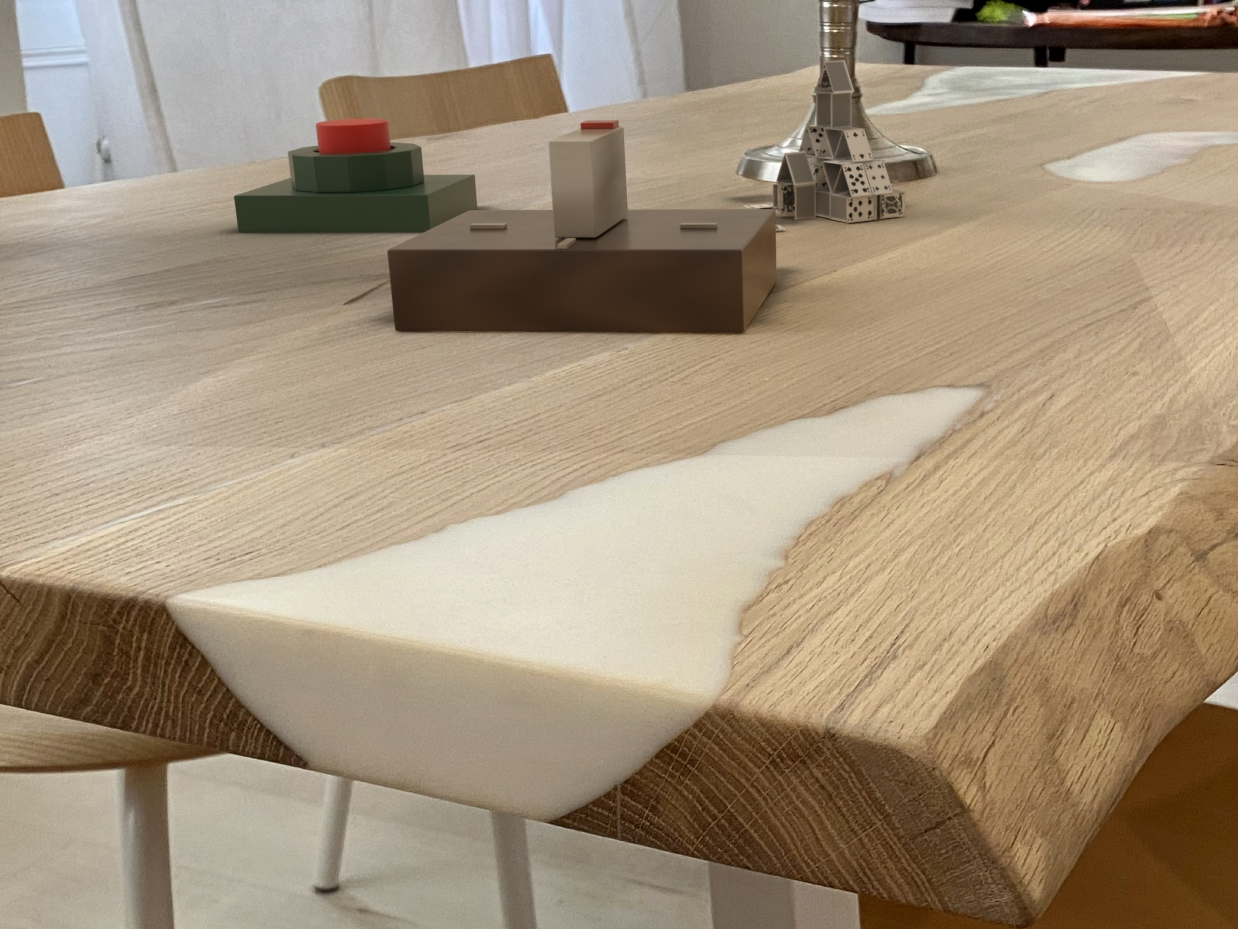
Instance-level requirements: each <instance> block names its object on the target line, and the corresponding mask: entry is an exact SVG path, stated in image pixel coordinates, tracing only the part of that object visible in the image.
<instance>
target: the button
mask: <svg viewBox="0 0 1238 929" xmlns="http://www.w3.org/2000/svg"><path fill="white" fill-rule="evenodd" d="M315 131H316V139H317V146H318V149H319V153H363V152H376V151H384V150H391V146H390V142H391V137H390V127H389V120H387V119H383V118H349V119H348V118H346V119H345V118H344V119H332V120H324V121H319V122H316V123H315Z"/></svg>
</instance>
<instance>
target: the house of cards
mask: <svg viewBox="0 0 1238 929" xmlns="http://www.w3.org/2000/svg"><path fill="white" fill-rule="evenodd" d="M849 73H850V72H849V71H848V67H847V64H846V60H845V59H838V60H824V61H823V63H822V67H821V70H820V74H819V76H818V80H817V83H816V87H815V90H814V92H815V124H810V125H809V124H807V125H806V126H805V130H804V134H803V137H802V139H801V143H800V146H799V148H798V151H790V152H784V154H783V156H782V160H781V164H780V167H779V170H778V173H777V177H776V182H777V183H772V203H761V204H745V205H742V207H744V208H745V209H767V208H772V209H774V210H775V209H779V217H788V216H789V217H790V216H794V220H795V221H796V220H802V219H803V220H805V219H813V218H816V217H821V218H827V219H829V220H834V221H839V222H843V223H845V224H850V223H851V224H852V223H860V222H867V221H878V220H880V221H881V220H882V219H888V218H889V219H890V218H898V217H899V218H900V217H905V216H906V190H901V189H895V188H893V186H892V183H891V180H890V176H889V174H888V170H887V167H886V164H885V160H884V159H882V160H881V159H876V158H874V156H873V153H872V150H871V146H870V143H869V140H868V137H867V134H866V131H865V130H866V128H861V127H852V93H854V92H855V90H854V86H853V83H852V80H851V77H850V74H849ZM786 230H787V229H786V228H785V227H783V226H781V225H780V224H776V232H777V231H786Z"/></svg>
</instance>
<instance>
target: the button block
mask: <svg viewBox="0 0 1238 929" xmlns="http://www.w3.org/2000/svg"><path fill="white" fill-rule="evenodd" d="M390 146H391V150H384V151H376V152H363V153H319V149H318V145H311V146H304V147H303V146H302V147H299V148H296V149H292V150H288V151H287V156H288V165H289V174H290V177H289V178H285V179H282V180H279V181H276V182H272V183H270V184H267V185H264V186H263V185H262V186H260V187H257V188H253V189H249V190H247V191H244V192H240V193H238V194H234V196H233V200H234V208H235V217H236V223H237V231H238V234H256V233H257V234H274V233H275V234H294V233H295V234H307V233H308V234H311V233H312V234H315V233H317V234H318V233H319V234H328V233H329V234H330V233H332V234H334V233H335V234H337V233H340V234H341V233H342V234H347V233H348V234H349V233H350V234H351V233H353V234H354V233H355V234H357V233H365V234H370V233H371V234H372V233H374V234H375V233H377V234H378V233H380V234H381V233H382V234H383V233H389V234H392V233H394V234H395V233H396V234H397V233H406V234H407V233H424V232H426V231H428V230H430V229H432V228H434V227H436V226H438V225H440V224H442V223H444V222H446V221H448V220H450V219H452V218H454V217H456V216H458V215H461V214H463V213H465V212H467V211H469V210H478V198H477V186H476V185H477V184H476V175H475V174H425V172H424V162H423V151H422V146H421V145H418V144H416V143H409V142H396V141H390Z"/></svg>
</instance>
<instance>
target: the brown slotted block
mask: <svg viewBox="0 0 1238 929" xmlns="http://www.w3.org/2000/svg"><path fill="white" fill-rule="evenodd" d="M776 220H777V219H776V210H775V208H774V209H773V208H750V209H749V208H720V209H719V208H716V209H715V208H711V209H709V208H708V209H707V208H706V209H705V208H704V209H702V208H700V209H699V208H698V209H690V208H687V209H686V208H685V209H681V208H680V209H673V208H672V209H670V208H669V209H668V208H667V209H628V216H627V217H625V218H624V219H622V220H621V221H619V222H618V223H616V224H615V225H614V226H612V227H611V228H609V229H608V230H606V231H605V232H603V233H602V234H600V235H599V236H598V237H596V238H556V237H555V235H554V219H553V209H477V210H469V211H467V212H465V213H463V214H461V215H458V216H456V217H454V218H452V219H450V220H448V221H446V222H444V223H442V224H440V225H438V226H436V227H434V228H432V229H430V230H428V231H426V232H420V233H419V234H417V235H415V236H414V237H411V238H408V239H407V240H405V241H403V242H401V243H399V244H397V245H395V246H393V247H390V248H389V249H387V251H386V252H387V253H386V254H387V263H388V274H389V284H390V291H391V292H390V294H391V302H392V313H393V314H392V315H393V323H394V330H395V331H396V332H481V333H482V332H485V333H486V332H489V333H492V332H493V333H494V332H495V333H497V332H498V333H503V332H504V333H505V332H506V333H633V334H635V333H636V334H637V333H643V334H644V333H645V334H647V333H649V334H650V333H651V334H652V333H653V334H655V333H656V334H743V333H745V332H746V330H747V328H748V326H749V325H750V324H751V322H752V320H753V318H754V317H755V315H756V314H757V312H758V311H759V309H760V308H761V306H762V304H763V303H764V301H765V300H766V298H767V297H768V295H770V292H771V290H772V289H773V287H774V286H775V285H776V283H777V281H778V279H777V278H778V274H777V272H778V271H777V231H776V225H777V224H776V223H777V221H776Z"/></svg>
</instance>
